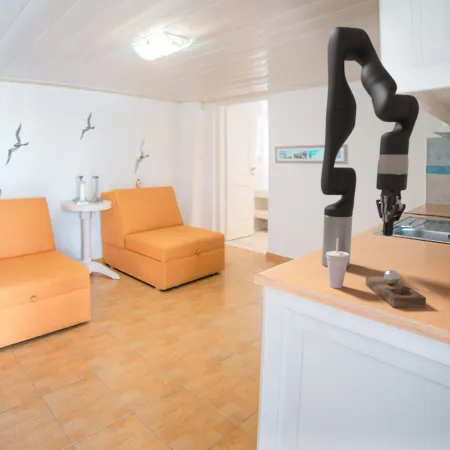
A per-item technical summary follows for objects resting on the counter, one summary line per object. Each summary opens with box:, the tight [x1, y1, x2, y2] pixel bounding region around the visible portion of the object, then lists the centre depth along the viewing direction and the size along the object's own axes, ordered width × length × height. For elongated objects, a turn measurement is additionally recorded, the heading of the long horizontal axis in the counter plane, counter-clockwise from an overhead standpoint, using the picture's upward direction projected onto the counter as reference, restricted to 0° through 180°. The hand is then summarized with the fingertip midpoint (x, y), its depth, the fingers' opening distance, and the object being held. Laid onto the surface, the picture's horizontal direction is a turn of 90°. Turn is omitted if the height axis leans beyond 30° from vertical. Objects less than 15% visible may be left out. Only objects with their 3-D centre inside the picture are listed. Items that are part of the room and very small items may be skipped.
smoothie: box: [326, 238, 349, 289], centre depth 106 cm, size 6×6×14 cm
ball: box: [383, 269, 400, 285], centre depth 101 cm, size 4×4×4 cm
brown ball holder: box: [364, 275, 427, 309], centre depth 100 cm, size 17×8×2 cm, turn 2°
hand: (387, 235), depth 103 cm, fingers closed
